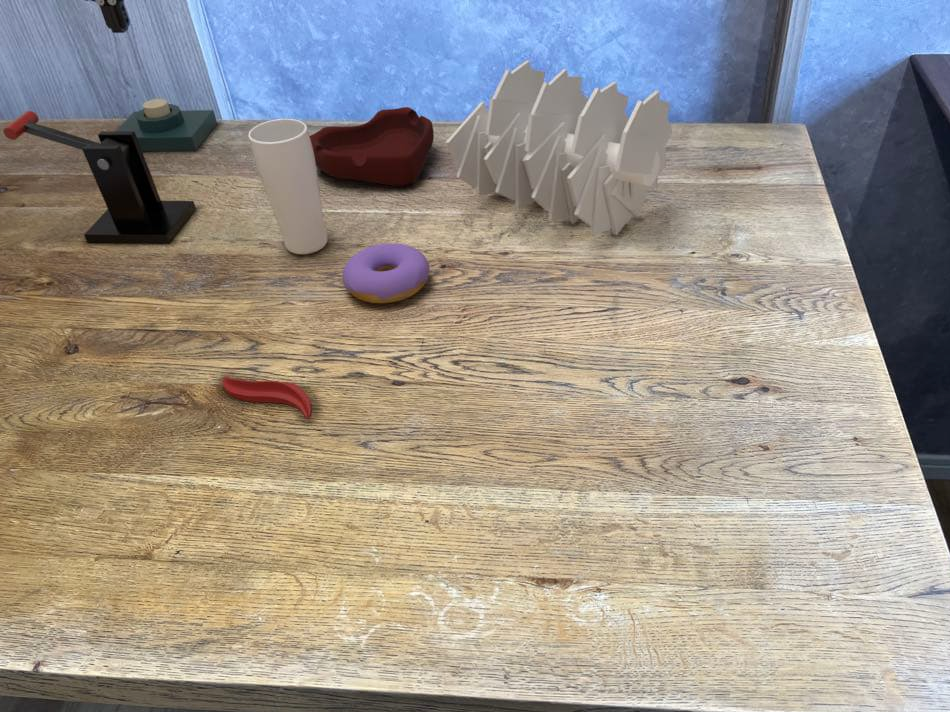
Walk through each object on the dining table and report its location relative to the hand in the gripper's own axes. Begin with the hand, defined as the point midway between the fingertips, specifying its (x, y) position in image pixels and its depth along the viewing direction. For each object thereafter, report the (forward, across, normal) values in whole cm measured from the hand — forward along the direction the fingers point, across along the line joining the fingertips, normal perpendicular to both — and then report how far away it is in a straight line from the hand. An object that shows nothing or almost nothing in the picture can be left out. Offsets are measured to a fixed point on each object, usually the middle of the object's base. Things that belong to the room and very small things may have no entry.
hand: (120, 31), depth 117 cm
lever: (+6, -3, +26) cm, 27 cm away
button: (+13, -1, -1) cm, 13 cm away
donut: (+16, -43, +41) cm, 62 cm away
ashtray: (+16, -38, +11) cm, 42 cm away
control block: (+16, -1, -1) cm, 16 cm away
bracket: (+16, -8, +26) cm, 32 cm away
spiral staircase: (+16, -64, +24) cm, 70 cm away
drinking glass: (+16, -31, +32) cm, 48 cm away
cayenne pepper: (+16, -34, +60) cm, 71 cm away
